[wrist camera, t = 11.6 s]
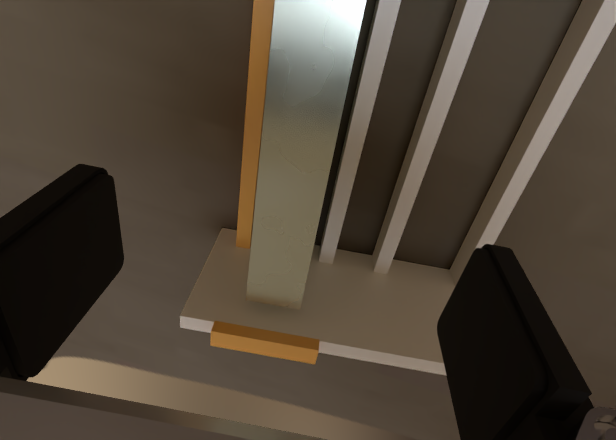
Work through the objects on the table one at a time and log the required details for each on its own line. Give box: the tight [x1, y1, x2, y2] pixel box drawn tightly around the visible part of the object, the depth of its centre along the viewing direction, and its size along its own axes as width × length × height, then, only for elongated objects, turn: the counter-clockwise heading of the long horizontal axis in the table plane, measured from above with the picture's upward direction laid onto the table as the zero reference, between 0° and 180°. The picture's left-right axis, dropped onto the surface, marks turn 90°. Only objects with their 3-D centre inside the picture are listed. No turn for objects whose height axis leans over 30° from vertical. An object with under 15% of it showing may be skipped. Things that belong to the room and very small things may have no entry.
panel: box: [246, 0, 366, 310], centre depth 16 cm, size 14×2×6 cm, turn 171°
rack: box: [180, 0, 616, 375], centre depth 16 cm, size 18×16×8 cm
